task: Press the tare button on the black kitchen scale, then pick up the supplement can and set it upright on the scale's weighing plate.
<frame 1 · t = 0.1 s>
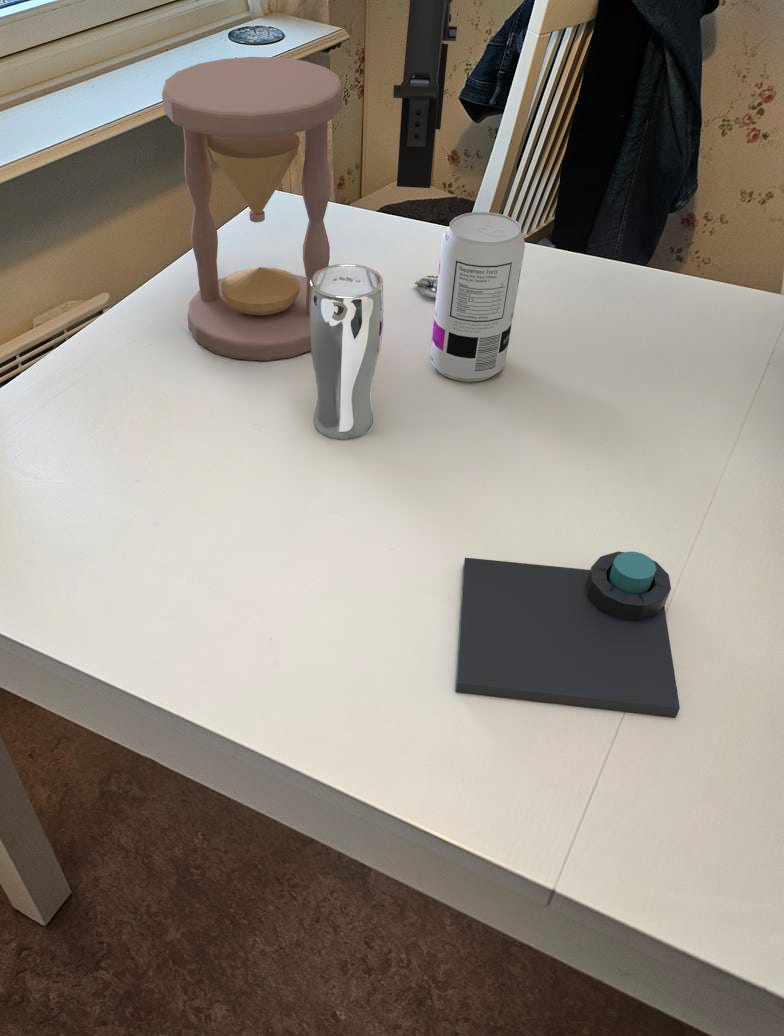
hand: (419, 155, 77), 24 cm above the table, tool pointing down, fingers open, 13 cm apart
tare button: (632, 572, 71), point 3 cm above the table, slide at 0.1 cm
supplement can: (466, 366, 99), on the table
blueberries: (447, 292, 111), on the table
hourglass: (263, 324, 106), on the table
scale: (560, 637, 71), on the table
beer glass: (343, 424, 92), on the table
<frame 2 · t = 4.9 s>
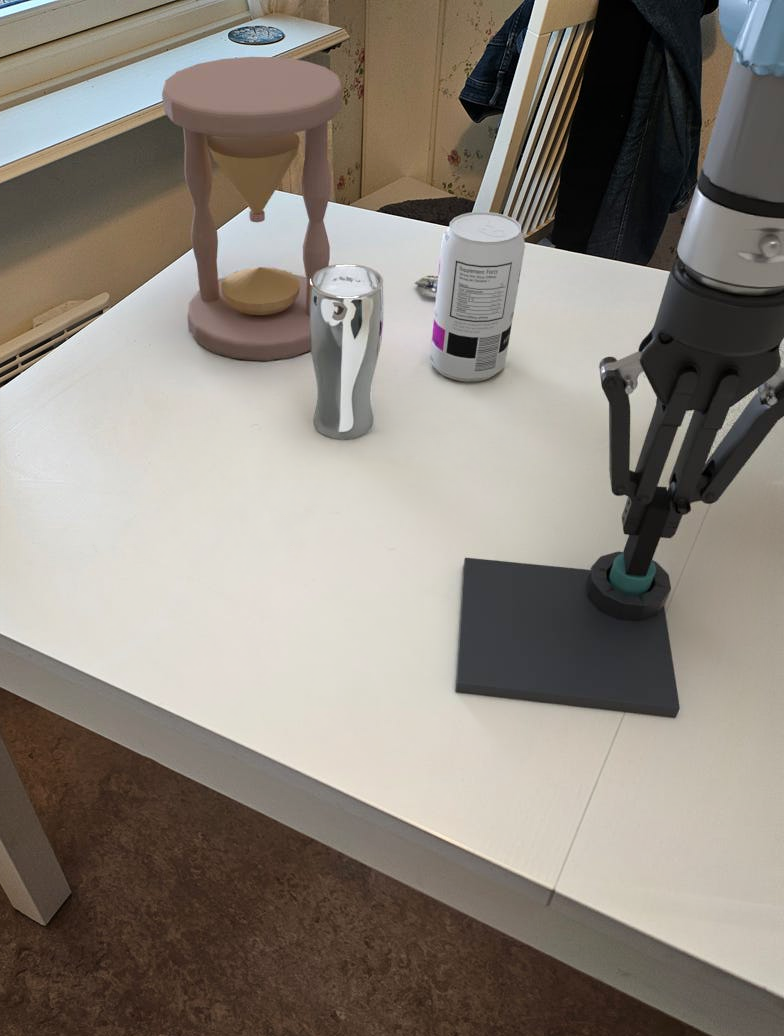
hand: (634, 563, 70), 5 cm above the table, tool pointing down, fingers closed
tare button: (632, 573, 71), point 3 cm above the table, slide at 0.0 cm, touching gripper
everything else where it was.
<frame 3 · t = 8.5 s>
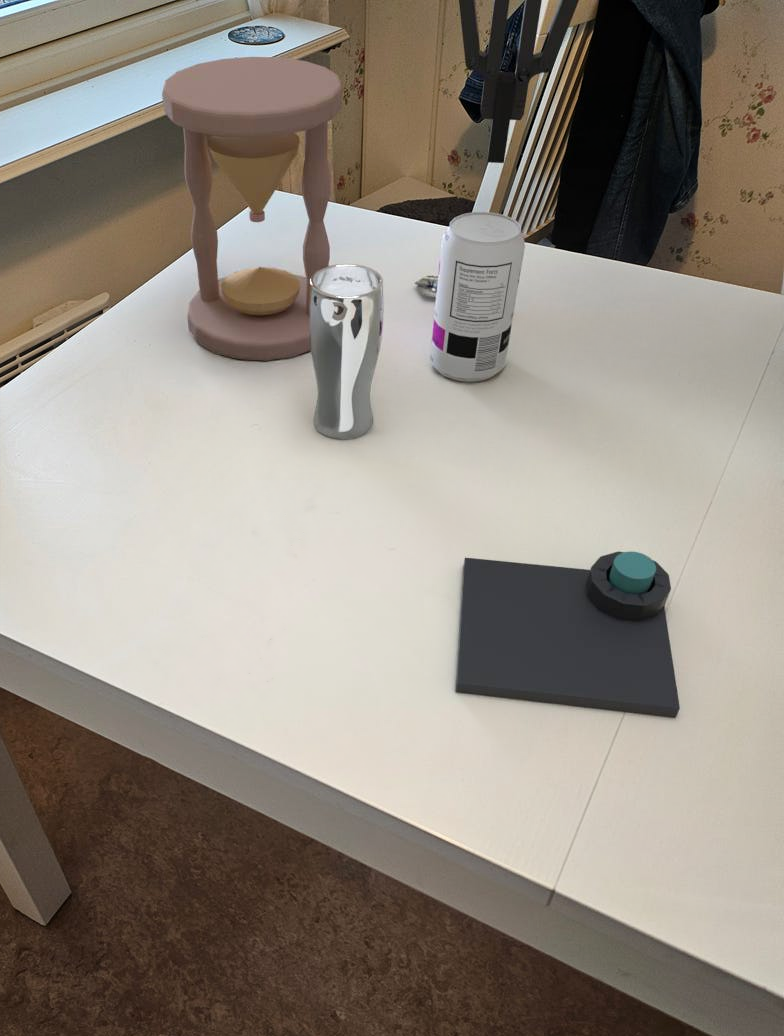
hand: (495, 157, 83), 22 cm above the table, tool pointing down, fingers closed
tare button: (632, 572, 71), point 3 cm above the table, slide at 0.1 cm
everything else where it was.
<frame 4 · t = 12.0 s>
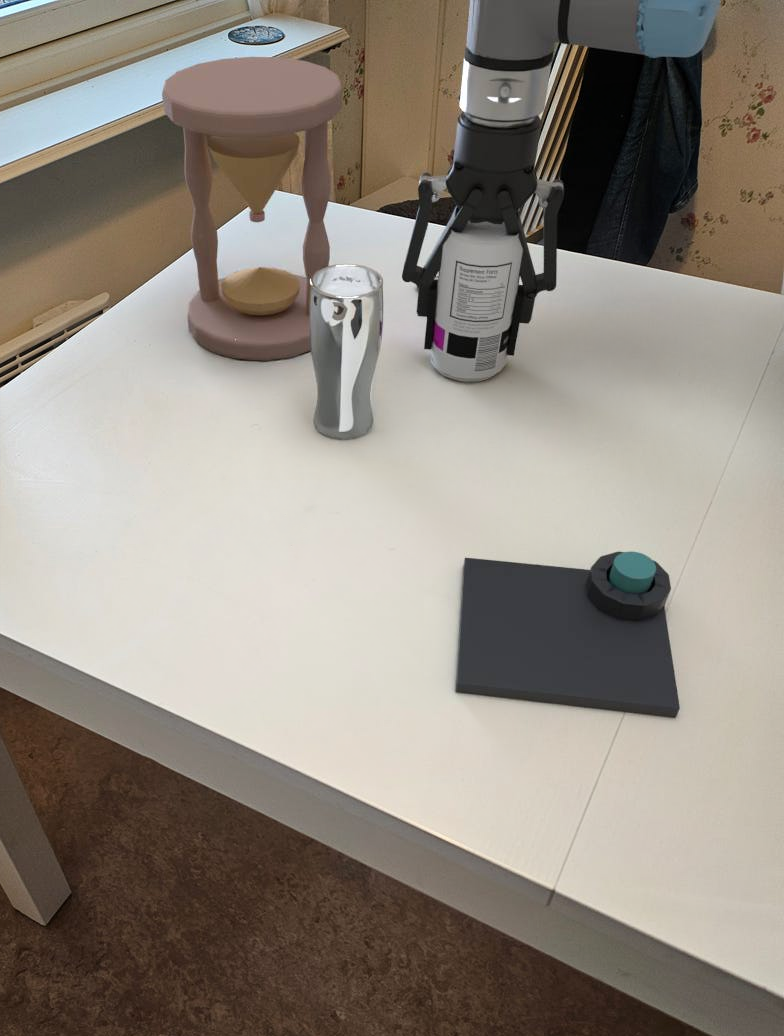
hand: (469, 345, 97), 2 cm above the table, tool pointing down, fingers closed on supplement can, 8 cm apart
supplement can: (466, 366, 99), on the table, touching gripper
everything else where it was.
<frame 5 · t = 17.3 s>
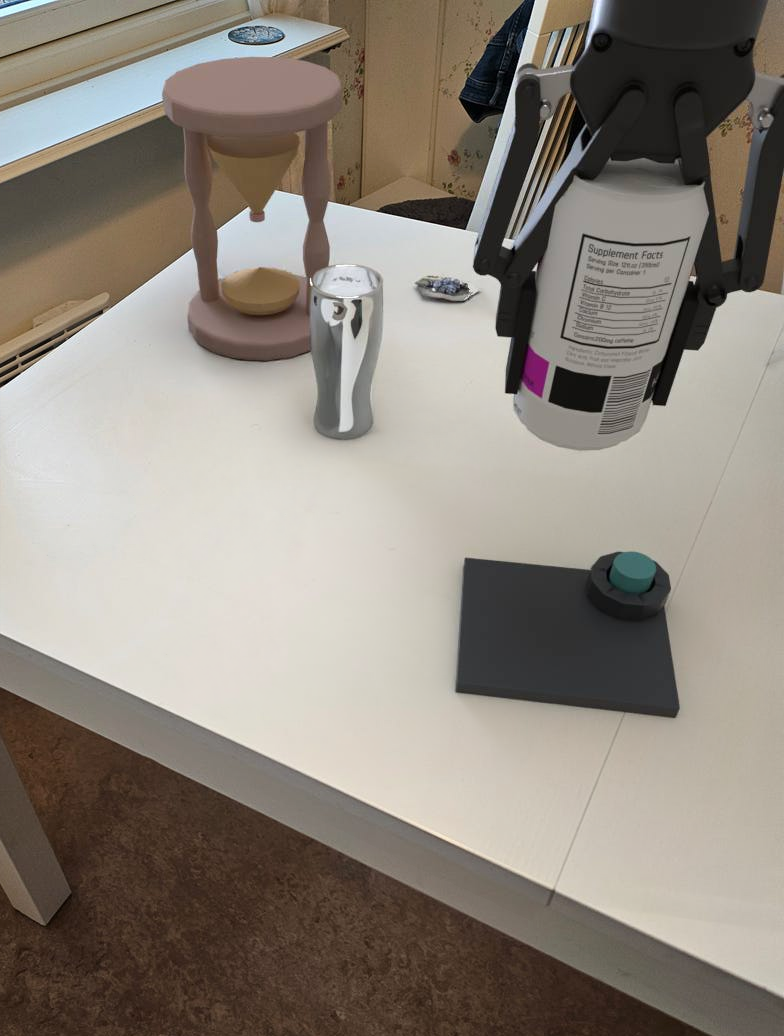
hand: (583, 387, 56), 22 cm above the table, tool pointing down, fingers closed on supplement can, 8 cm apart
supplement can: (575, 421, 58), point 19 cm above the table, touching gripper
everything else where it was.
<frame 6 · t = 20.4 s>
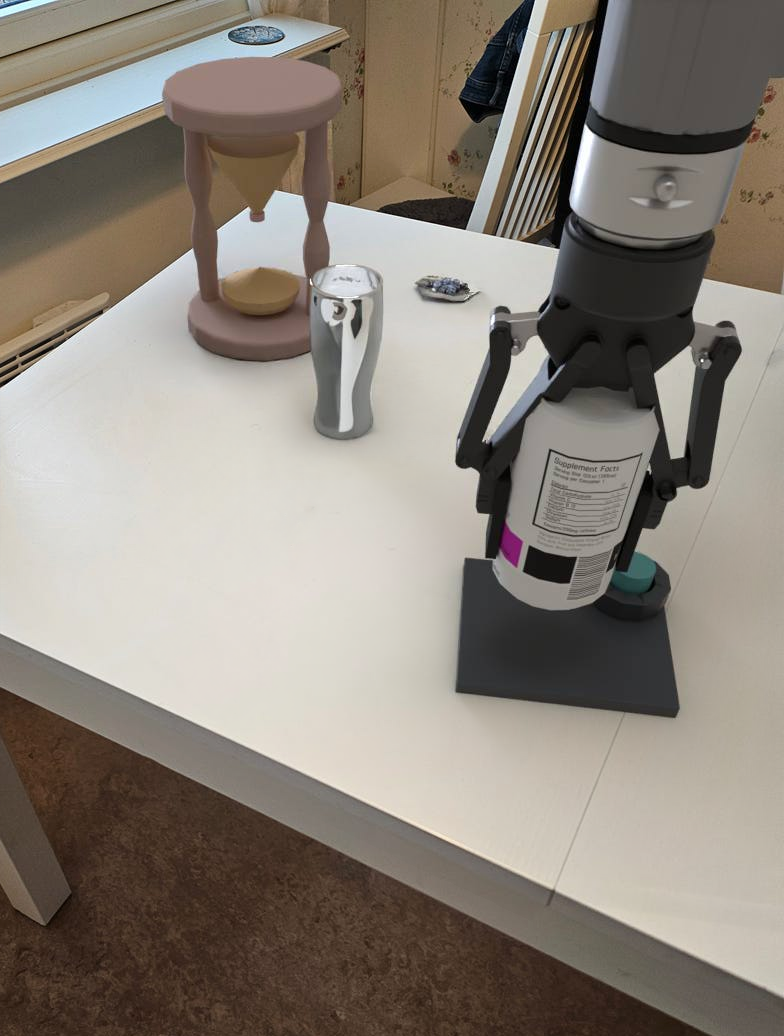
hand: (554, 552, 63), 10 cm above the table, tool pointing down, fingers closed on supplement can, 8 cm apart
supplement can: (548, 577, 64), point 8 cm above the table, touching gripper
everything else where it was.
when the fingers open (3 cm above the table, at t = 22.8 s): supplement can stays where it is, resting on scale.
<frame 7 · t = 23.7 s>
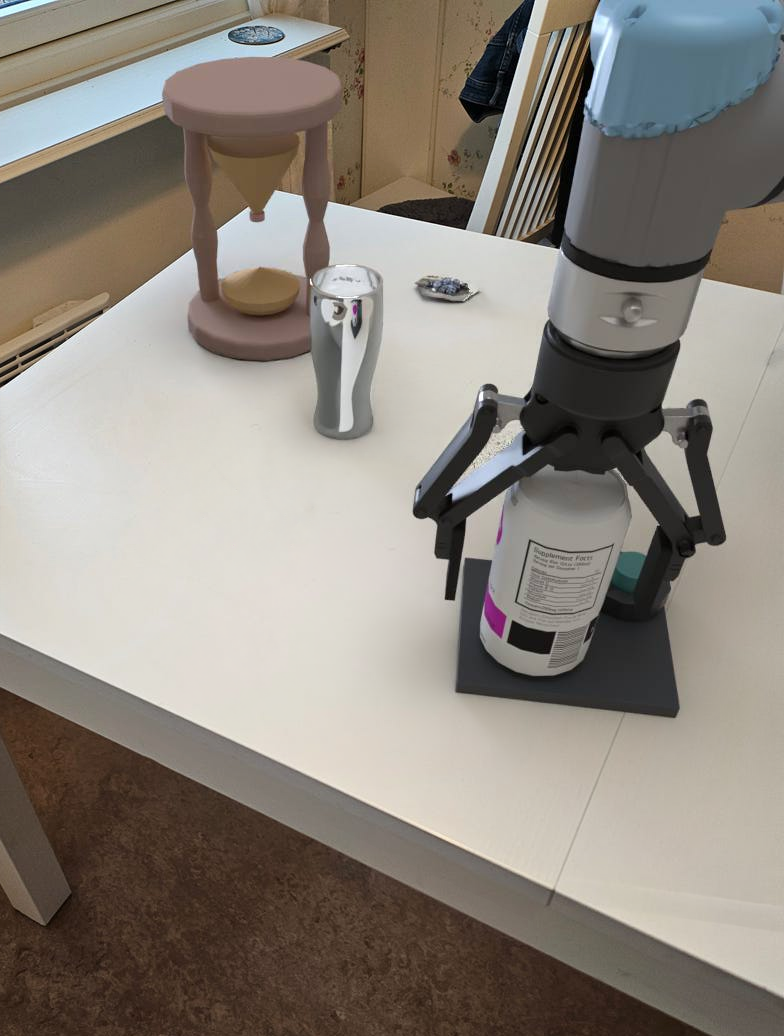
hand: (543, 597, 66), 6 cm above the table, tool pointing down, fingers open, 13 cm apart
supplement can: (531, 643, 69), point 1 cm above the table, touching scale
everything else where it was.
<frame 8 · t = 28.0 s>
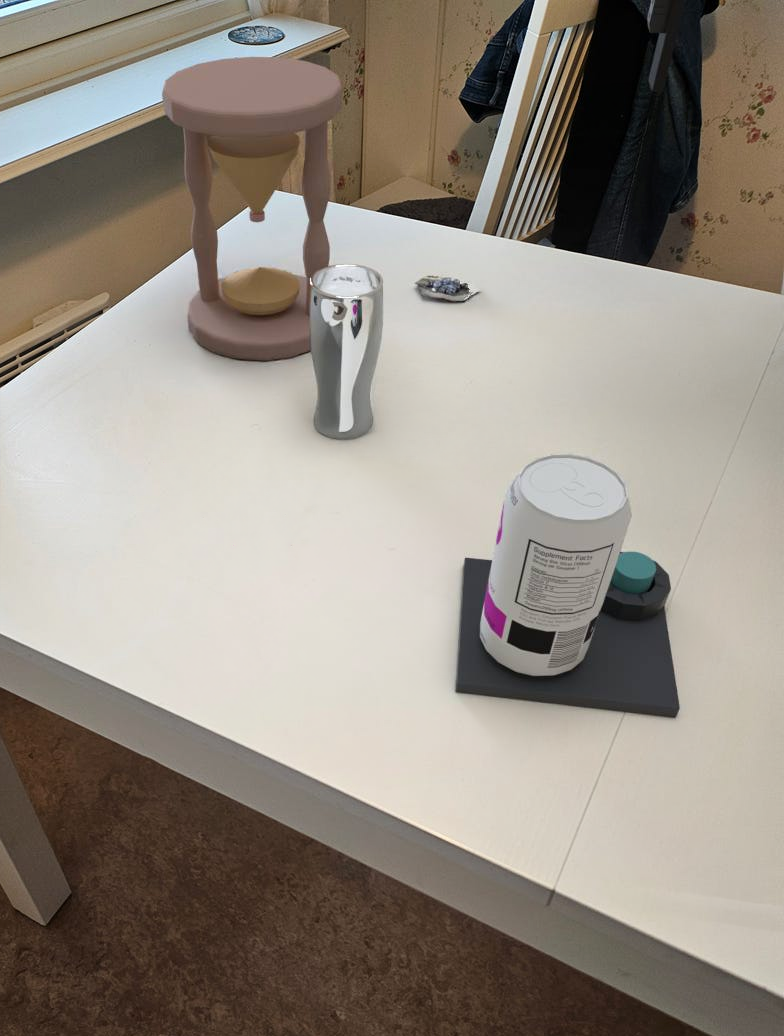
hand: (754, 90, 64), 32 cm above the table, tool pointing down, fingers open, 13 cm apart
nothing on the table moved.
at the end: tare button pushed in 0.7 cm at the most during the clip, back to where it started at the end; supplement can inside the target area on the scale (2.5 cm from its centre), point 1.0 cm above the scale's base; supplement can touching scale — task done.
